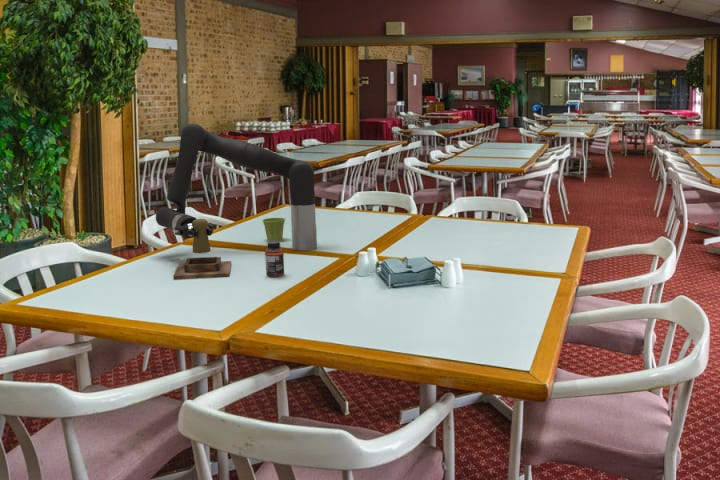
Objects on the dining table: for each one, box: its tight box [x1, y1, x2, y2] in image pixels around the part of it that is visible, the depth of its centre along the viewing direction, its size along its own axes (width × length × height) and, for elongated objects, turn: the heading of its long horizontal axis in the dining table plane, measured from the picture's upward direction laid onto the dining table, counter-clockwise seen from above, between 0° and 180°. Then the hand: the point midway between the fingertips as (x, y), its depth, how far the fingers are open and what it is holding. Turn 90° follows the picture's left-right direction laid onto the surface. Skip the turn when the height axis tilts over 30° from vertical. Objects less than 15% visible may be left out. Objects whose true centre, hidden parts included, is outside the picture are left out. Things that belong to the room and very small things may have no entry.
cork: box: [192, 218, 211, 254], centre depth 252 cm, size 6×6×11 cm
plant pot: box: [261, 217, 286, 242], centre depth 304 cm, size 9×9×9 cm
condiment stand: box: [172, 256, 232, 280], centre depth 254 cm, size 18×18×4 cm
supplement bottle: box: [264, 241, 285, 278], centre depth 247 cm, size 6×6×11 cm
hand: (203, 233), depth 250 cm, fingers closed on cork, 4 cm apart
